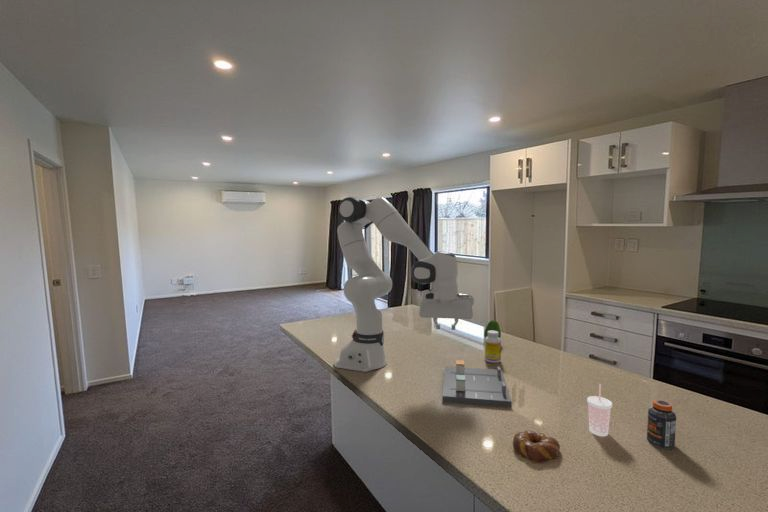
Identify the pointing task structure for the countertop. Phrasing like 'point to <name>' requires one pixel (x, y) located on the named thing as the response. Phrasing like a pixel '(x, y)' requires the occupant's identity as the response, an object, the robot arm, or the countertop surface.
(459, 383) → the fader
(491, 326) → the avocado
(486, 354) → the supplement bottle
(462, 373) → the fader
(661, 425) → the pill bottle
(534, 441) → the pretzel
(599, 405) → the beverage cup
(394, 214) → the robot arm
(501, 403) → the console
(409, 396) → the countertop surface
